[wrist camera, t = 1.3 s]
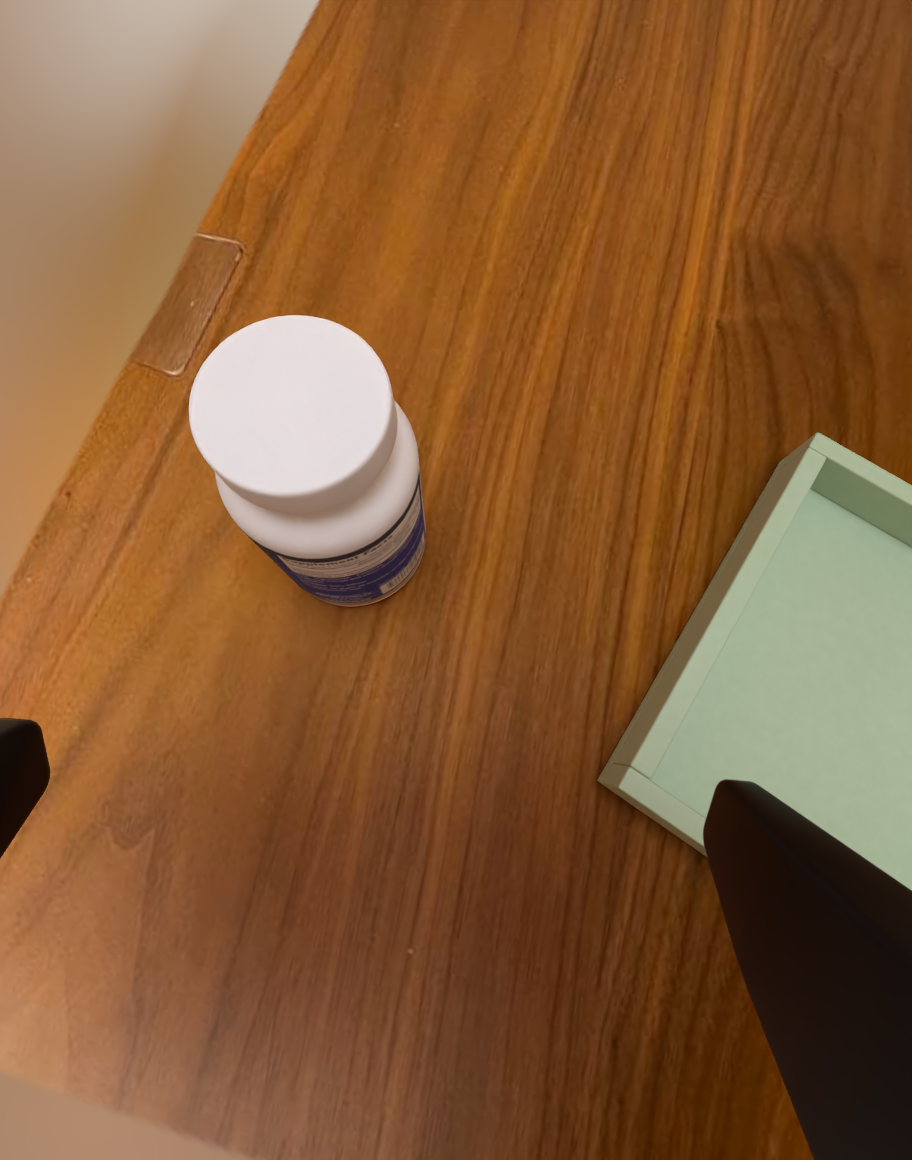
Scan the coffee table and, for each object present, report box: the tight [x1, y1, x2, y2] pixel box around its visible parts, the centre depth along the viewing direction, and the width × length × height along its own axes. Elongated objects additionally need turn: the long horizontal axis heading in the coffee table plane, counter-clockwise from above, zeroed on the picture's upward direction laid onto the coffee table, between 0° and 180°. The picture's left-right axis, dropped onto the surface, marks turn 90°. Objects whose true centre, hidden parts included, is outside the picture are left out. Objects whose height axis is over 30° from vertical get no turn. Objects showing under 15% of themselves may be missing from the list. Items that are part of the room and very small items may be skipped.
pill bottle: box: [189, 315, 426, 607], centre depth 17 cm, size 6×6×10 cm
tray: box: [597, 433, 912, 890], centre depth 20 cm, size 16×14×2 cm
